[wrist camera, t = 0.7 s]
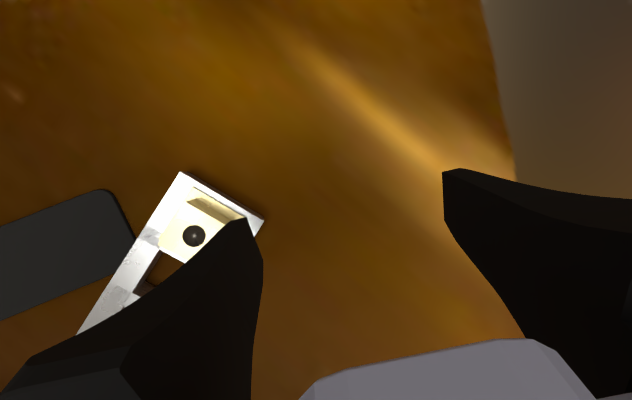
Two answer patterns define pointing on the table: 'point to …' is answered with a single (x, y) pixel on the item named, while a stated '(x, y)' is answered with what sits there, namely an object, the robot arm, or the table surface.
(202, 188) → the slotted metal bracket
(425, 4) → the table surface
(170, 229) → the tan block with hole
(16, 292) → the phone
